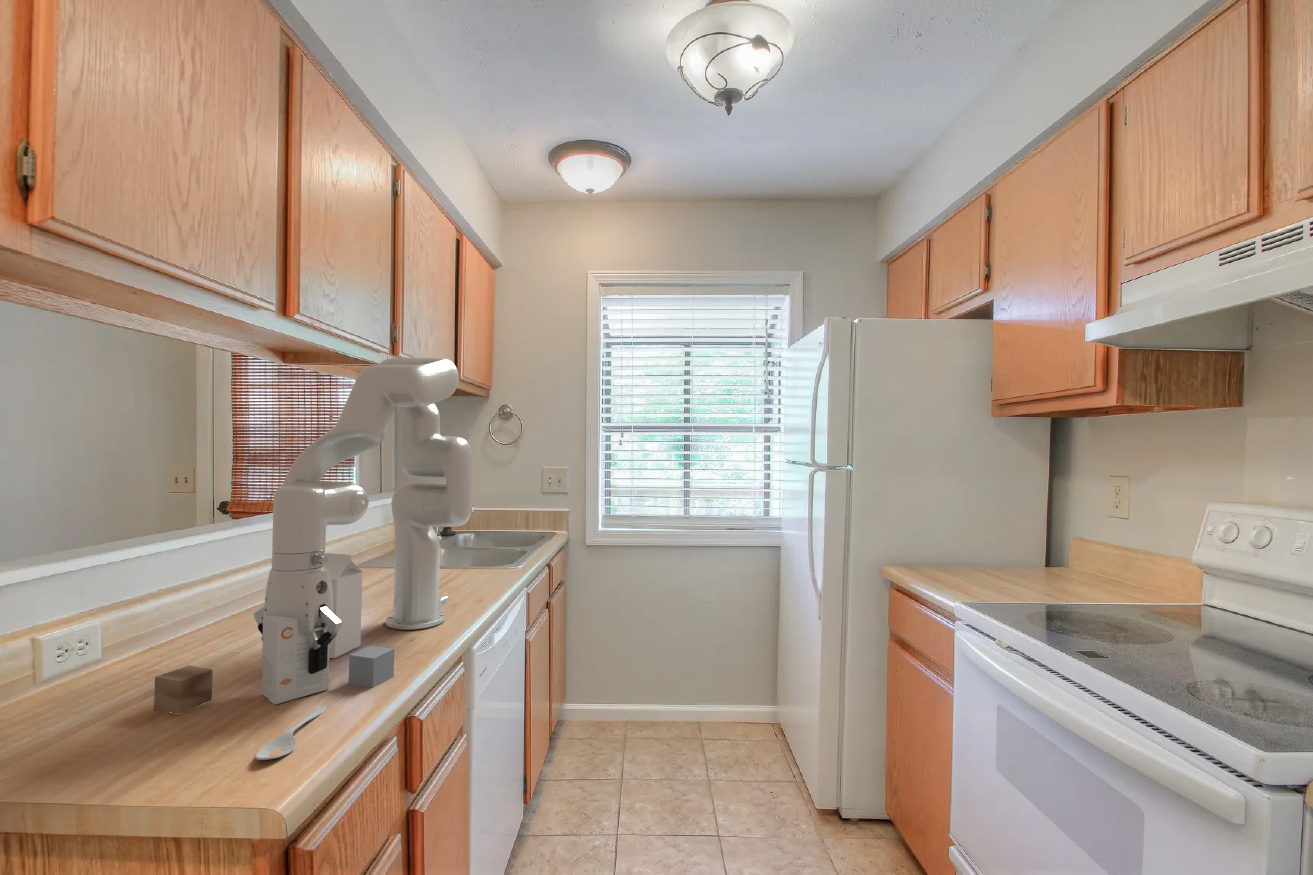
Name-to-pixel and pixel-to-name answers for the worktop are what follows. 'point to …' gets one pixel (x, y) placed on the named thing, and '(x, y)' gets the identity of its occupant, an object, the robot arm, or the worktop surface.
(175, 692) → the walnut block
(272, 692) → the small box
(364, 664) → the slate block
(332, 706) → the worktop surface
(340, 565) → the milk carton
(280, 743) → the spoon
